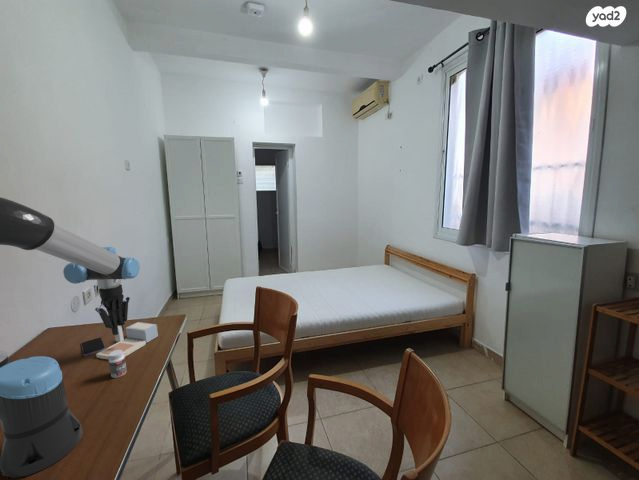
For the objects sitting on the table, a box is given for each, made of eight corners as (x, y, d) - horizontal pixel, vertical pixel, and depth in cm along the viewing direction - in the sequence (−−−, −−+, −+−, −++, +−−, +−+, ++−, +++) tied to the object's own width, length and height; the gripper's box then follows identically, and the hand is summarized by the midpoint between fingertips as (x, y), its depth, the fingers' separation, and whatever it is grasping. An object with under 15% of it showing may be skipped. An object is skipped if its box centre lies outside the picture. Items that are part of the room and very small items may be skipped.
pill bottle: (119, 378, 102) (115, 357, 100) (107, 377, 103) (104, 355, 101) (130, 370, 106) (126, 349, 105) (119, 369, 107) (115, 348, 106)
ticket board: (117, 361, 113) (116, 357, 112) (96, 357, 116) (96, 353, 115) (145, 344, 125) (145, 340, 124) (126, 341, 128) (125, 337, 128)
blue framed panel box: (146, 342, 125) (144, 330, 124) (127, 339, 128) (125, 327, 127) (158, 336, 131) (156, 324, 130) (139, 333, 134) (137, 321, 133)
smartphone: (101, 336, 132) (105, 348, 121) (101, 339, 132) (106, 350, 121) (80, 342, 127) (83, 355, 116) (81, 345, 128) (83, 357, 117)
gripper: (100, 292, 108) (111, 350, 112) (132, 281, 120) (140, 333, 124) (86, 290, 110) (97, 347, 114) (118, 280, 122) (127, 331, 126)
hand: (119, 340), depth 119 cm, fingers closed
